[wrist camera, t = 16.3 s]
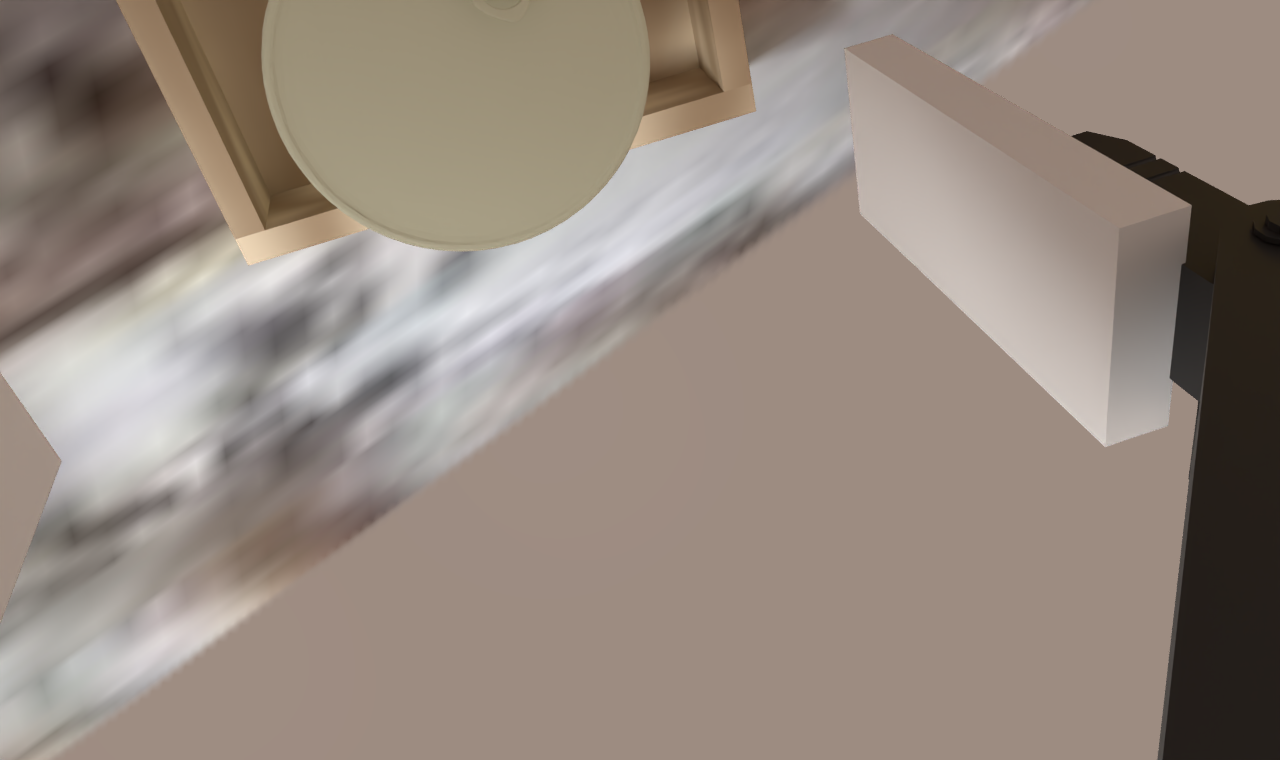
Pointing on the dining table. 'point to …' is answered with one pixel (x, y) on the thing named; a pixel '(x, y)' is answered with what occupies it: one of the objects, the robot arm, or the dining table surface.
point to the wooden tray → (269, 177)
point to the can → (457, 109)
